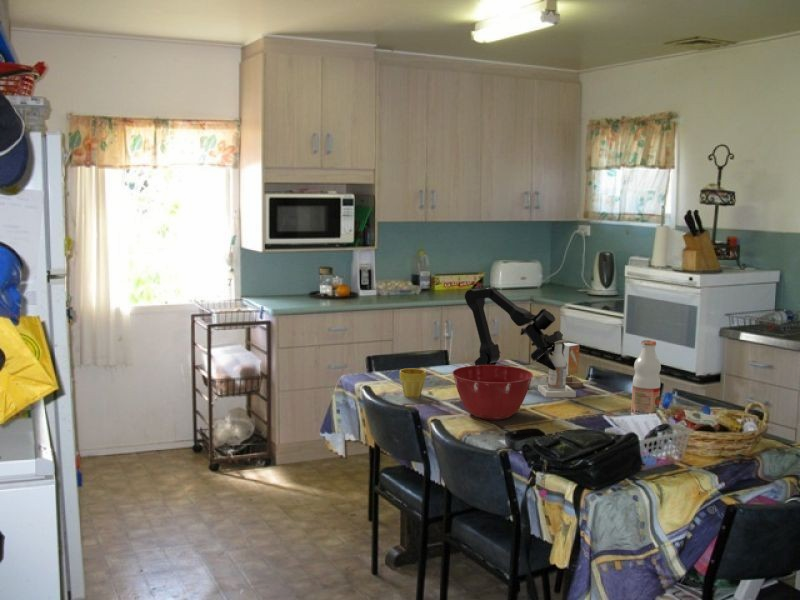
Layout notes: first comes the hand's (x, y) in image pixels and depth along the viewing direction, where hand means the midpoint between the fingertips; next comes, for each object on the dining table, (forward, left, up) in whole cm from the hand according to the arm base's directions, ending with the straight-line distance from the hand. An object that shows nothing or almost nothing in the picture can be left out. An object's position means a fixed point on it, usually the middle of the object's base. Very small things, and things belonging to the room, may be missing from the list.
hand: (560, 368), depth 329 cm
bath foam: (-1, +1, -11) cm, 11 cm away
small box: (+15, +39, -11) cm, 43 cm away
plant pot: (-59, -1, -11) cm, 60 cm away
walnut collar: (+7, +17, -11) cm, 21 cm away
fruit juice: (+20, -37, -11) cm, 43 cm away
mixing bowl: (-34, -30, -11) cm, 47 cm away
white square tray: (-1, +1, -11) cm, 11 cm away
